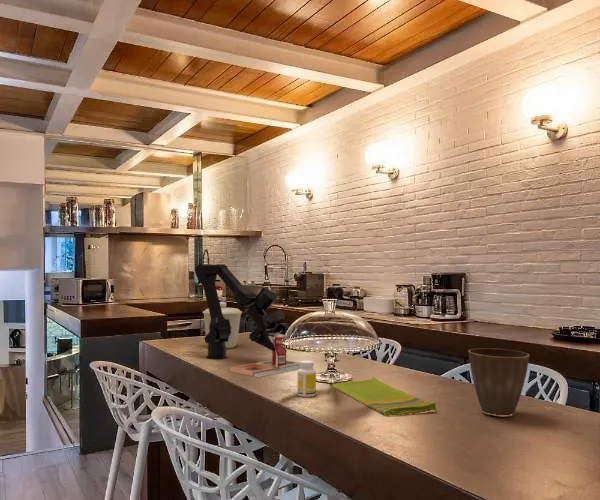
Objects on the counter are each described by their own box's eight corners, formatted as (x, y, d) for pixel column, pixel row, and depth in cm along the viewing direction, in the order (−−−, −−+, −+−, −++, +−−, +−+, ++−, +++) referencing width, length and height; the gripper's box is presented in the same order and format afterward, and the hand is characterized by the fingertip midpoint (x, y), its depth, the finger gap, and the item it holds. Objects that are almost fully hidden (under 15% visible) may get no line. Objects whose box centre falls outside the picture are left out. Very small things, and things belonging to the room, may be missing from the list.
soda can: (271, 365, 209) (272, 333, 209) (285, 365, 210) (286, 333, 210) (272, 368, 204) (272, 335, 204) (286, 368, 204) (286, 335, 205)
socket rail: (258, 377, 187) (258, 372, 187) (229, 371, 197) (229, 367, 197) (306, 367, 205) (306, 363, 206) (278, 362, 215) (278, 359, 215)
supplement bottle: (318, 393, 164) (318, 360, 164) (312, 398, 159) (312, 363, 159) (300, 392, 165) (301, 359, 166) (294, 396, 160) (295, 362, 161)
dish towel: (386, 419, 139) (386, 406, 139) (331, 389, 173) (331, 378, 173) (438, 414, 144) (438, 402, 145) (375, 386, 178) (375, 375, 178)
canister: (239, 350, 244) (239, 303, 245) (198, 350, 245) (199, 302, 245) (243, 345, 263) (244, 300, 263) (205, 344, 263) (206, 300, 263)
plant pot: (501, 405, 153) (501, 347, 154) (542, 419, 139) (542, 355, 140) (456, 409, 148) (456, 349, 148) (494, 424, 134) (494, 358, 134)
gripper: (255, 304, 202) (279, 337, 195) (286, 302, 217) (309, 332, 211) (239, 325, 206) (261, 357, 200) (270, 321, 222) (292, 351, 215)
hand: (282, 349), depth 206 cm, fingers open, 9 cm apart
